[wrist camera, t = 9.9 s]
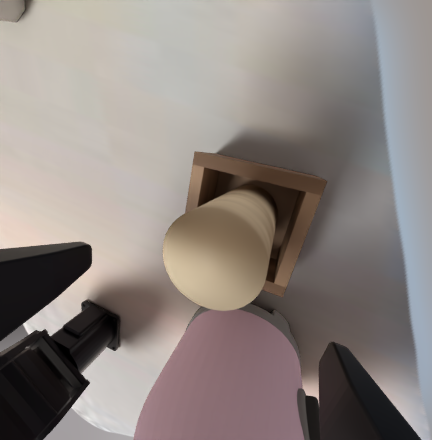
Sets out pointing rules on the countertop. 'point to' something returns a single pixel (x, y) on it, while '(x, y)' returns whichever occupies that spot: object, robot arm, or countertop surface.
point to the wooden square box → (278, 188)
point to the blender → (231, 382)
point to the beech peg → (223, 248)
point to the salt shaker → (11, 10)
